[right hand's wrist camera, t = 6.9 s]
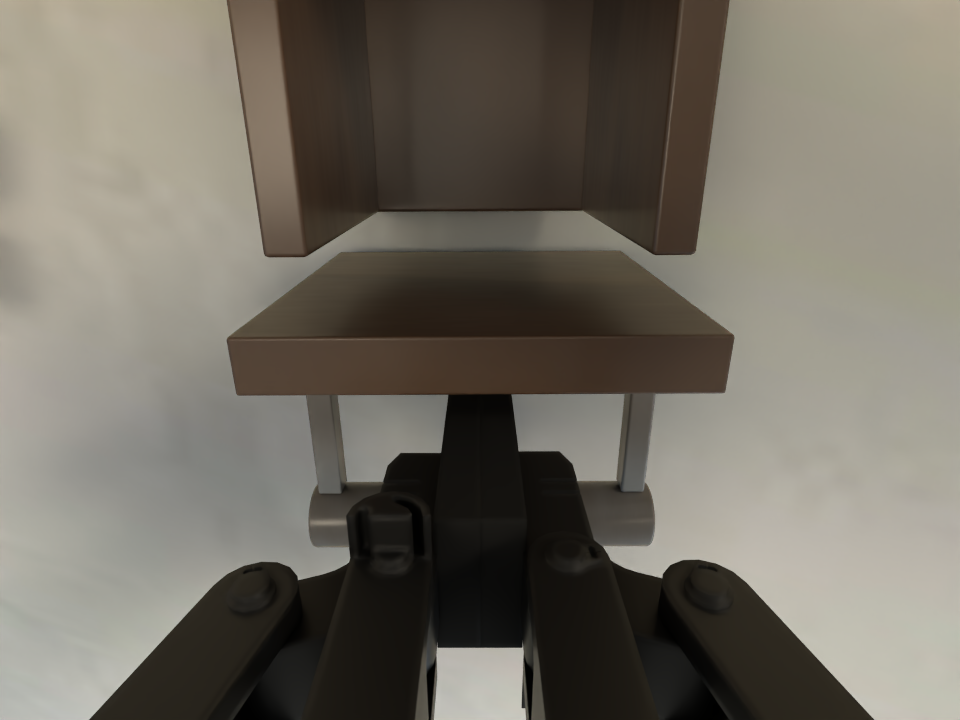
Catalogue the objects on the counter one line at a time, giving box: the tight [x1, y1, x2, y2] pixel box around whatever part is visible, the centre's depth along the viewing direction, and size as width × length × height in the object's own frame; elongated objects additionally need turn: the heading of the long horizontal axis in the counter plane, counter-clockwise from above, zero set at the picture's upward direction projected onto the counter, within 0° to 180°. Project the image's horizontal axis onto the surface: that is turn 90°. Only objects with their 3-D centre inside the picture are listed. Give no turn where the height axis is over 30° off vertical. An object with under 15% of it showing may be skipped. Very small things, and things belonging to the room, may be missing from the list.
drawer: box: [227, 0, 734, 547], centre depth 13 cm, size 21×10×9 cm, turn 0°
